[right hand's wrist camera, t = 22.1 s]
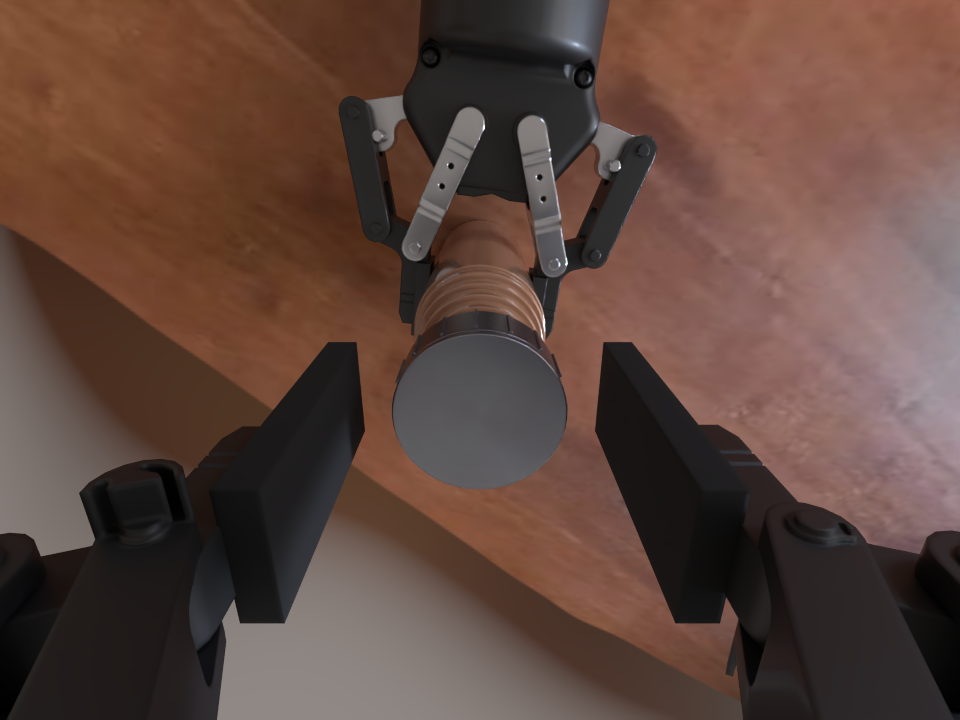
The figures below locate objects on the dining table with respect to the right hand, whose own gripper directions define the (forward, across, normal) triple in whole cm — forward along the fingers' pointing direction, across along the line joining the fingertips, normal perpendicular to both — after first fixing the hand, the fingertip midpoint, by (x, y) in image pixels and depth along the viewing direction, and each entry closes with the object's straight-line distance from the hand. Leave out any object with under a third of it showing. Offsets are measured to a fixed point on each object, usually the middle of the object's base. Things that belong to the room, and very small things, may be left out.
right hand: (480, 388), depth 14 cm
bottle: (+18, 0, 0) cm, 18 cm away
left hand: (+12, 0, -3) cm, 12 cm away
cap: (-1, 0, 0) cm, 1 cm away
